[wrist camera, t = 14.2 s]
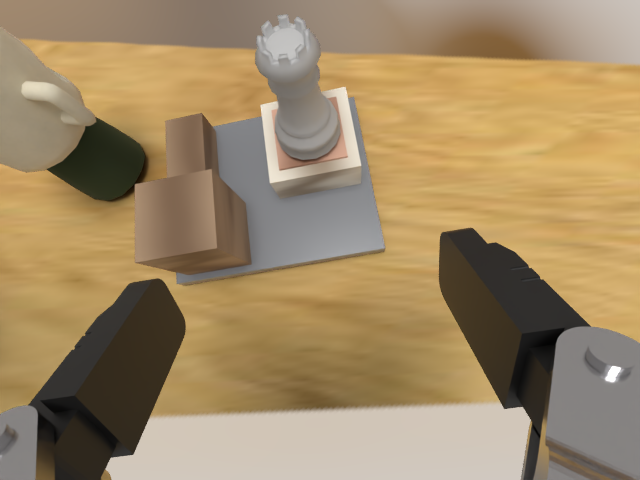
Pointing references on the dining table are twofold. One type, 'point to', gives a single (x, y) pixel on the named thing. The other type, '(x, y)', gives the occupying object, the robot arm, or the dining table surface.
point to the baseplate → (292, 209)
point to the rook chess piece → (297, 89)
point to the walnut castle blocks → (190, 207)
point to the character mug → (59, 128)
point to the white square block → (313, 173)
